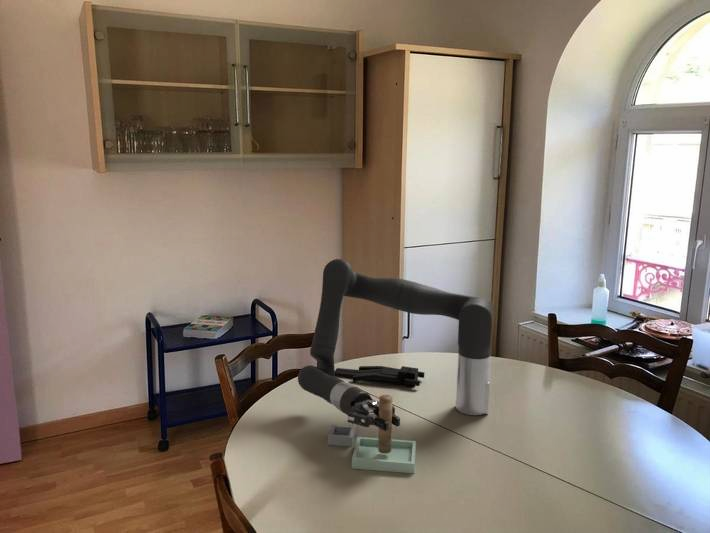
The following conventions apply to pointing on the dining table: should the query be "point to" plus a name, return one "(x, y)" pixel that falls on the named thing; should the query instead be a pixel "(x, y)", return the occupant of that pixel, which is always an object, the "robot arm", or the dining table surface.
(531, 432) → the dining table surface
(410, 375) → the toy
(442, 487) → the dining table surface
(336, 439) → the holder
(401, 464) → the tray
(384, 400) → the dowel
